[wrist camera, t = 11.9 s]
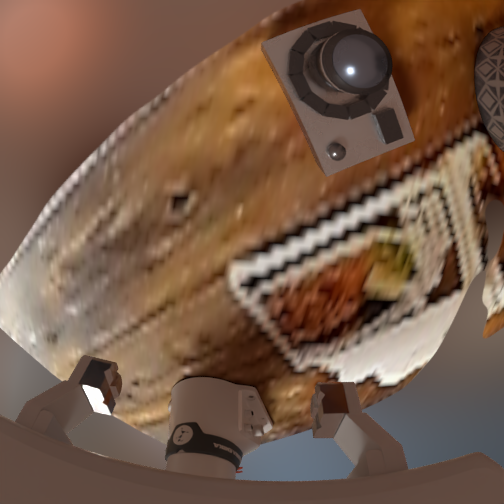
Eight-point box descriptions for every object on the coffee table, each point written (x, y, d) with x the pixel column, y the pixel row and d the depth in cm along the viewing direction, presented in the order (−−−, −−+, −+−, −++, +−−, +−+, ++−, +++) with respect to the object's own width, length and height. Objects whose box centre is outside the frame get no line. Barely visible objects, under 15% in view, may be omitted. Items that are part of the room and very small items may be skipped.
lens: (368, 52, 23) (402, 45, 17) (354, 100, 25) (383, 106, 19) (316, 32, 22) (335, 16, 16) (301, 82, 25) (316, 80, 19)
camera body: (395, 132, 31) (423, 144, 25) (317, 164, 34) (330, 182, 28) (346, 18, 25) (366, 4, 19) (261, 49, 28) (261, 39, 22)
